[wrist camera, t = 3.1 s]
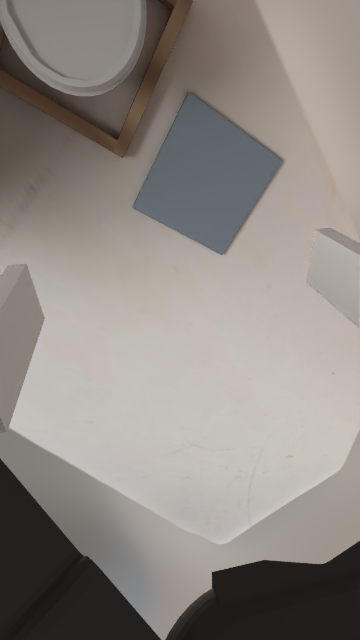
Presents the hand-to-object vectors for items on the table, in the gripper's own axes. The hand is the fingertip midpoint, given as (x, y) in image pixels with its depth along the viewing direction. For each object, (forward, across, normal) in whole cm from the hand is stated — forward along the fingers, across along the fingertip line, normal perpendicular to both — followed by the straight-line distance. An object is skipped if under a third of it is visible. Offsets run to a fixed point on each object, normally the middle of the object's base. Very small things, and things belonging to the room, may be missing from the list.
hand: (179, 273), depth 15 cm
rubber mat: (+27, +8, -1) cm, 28 cm away
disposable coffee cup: (+27, -4, +12) cm, 30 cm away
